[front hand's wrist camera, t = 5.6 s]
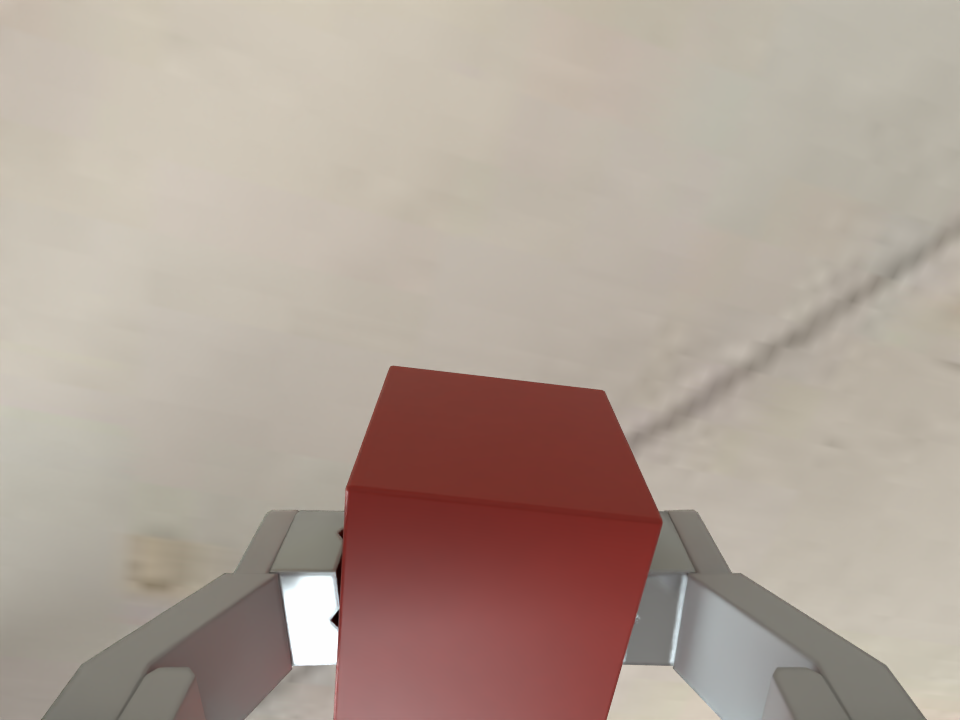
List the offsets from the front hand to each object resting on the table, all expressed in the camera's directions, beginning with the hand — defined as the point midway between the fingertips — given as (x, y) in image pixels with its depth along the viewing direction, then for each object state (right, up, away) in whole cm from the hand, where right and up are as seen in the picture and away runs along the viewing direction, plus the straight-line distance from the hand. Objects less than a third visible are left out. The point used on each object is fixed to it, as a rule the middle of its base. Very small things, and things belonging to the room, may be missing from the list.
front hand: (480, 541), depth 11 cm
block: (0, +1, +2) cm, 2 cm away
